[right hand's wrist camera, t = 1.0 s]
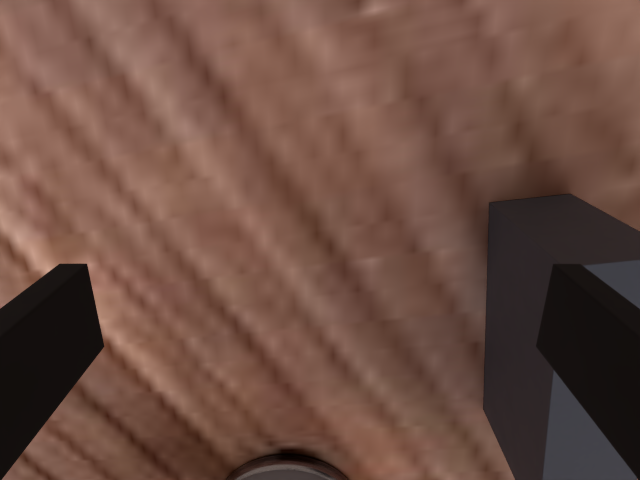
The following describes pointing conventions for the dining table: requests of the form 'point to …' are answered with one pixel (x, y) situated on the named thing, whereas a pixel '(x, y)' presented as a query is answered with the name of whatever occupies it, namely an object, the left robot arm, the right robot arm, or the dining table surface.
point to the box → (523, 328)
